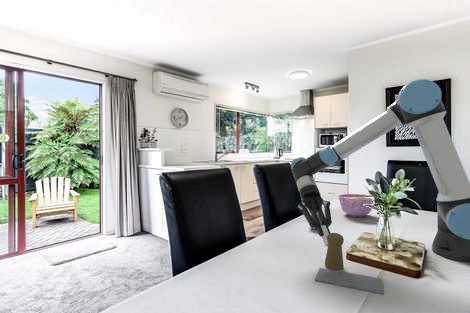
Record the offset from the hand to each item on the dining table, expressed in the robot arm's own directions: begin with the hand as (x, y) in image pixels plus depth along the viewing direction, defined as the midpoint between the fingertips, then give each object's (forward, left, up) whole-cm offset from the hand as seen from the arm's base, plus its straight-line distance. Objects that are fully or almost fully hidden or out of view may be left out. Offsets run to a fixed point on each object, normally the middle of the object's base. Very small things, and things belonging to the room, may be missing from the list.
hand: (328, 244), depth 90 cm
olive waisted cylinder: (-2, +1, -7) cm, 7 cm away
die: (+11, -42, -7) cm, 44 cm away
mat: (-7, +9, -7) cm, 14 cm away
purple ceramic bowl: (-6, -80, -7) cm, 81 cm away
